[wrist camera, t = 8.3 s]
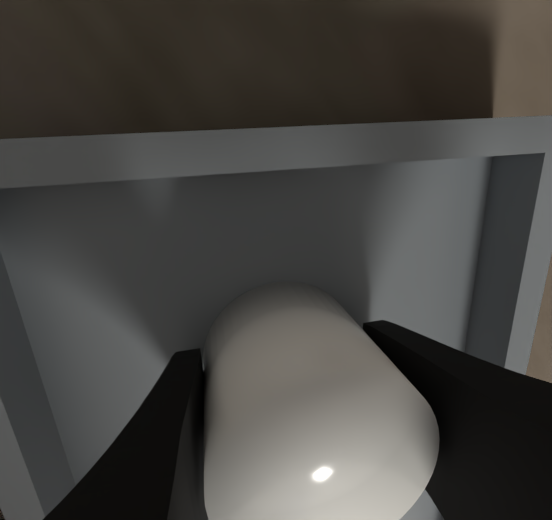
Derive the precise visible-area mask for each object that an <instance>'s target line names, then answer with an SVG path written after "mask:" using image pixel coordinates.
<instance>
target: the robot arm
mask: <svg viewBox="0 0 552 520" xmlns="http://www.w3.org/2000/svg"><path fill="white" fill-rule="evenodd" d="M363 330H364V332H365V333H366V334H367V335H368V336H369V337H370V338H371V339H372V340H373V341H374V343H375V344H376V345H377V346H378V347H379V348H380V349H381V350H382V351H383V353H384V354H385V355H386V356H387V357H388V358H389V359H390V360H391V361H392V363H393V364H394V365H395V366H396V367H397V368H398V369H399V370H400V371H401V373H402V374H403V375H404V376H405V377H406V378H407V379H408V380H409V381H410V383H411V384H412V385H413V386H414V387H415V388H416V389H417V390H418V391H419V393H420V394H421V395H422V396H423V397H424V398H425V400H426V401H427V402H428V404H429V405H430V406H431V409H432V411H433V413H434V415H435V417H436V420H437V424H438V428H439V438H440V441H439V453H438V458H437V462H436V465H435V468H434V471H433V474H432V476H431V478H430V480H429V482H428V484H427V486H426V488H425V490H426V491H427V493H428V494H429V496H430V497H431V499H432V501H433V502H434V504H435V505H436V507H437V509H438V510H439V512H440V513H441V515H442V517H443V518H444V520H552V383H549V382H546V381H542V380H539V379H536V378H533V377H529V376H526V375H523V374H520V373H518V372H515V371H512V370H509V369H506V368H503V367H501V366H498V365H495V364H493V363H490V362H487V361H485V360H482V359H479V358H477V357H474V356H472V355H469V354H467V353H464V352H462V351H459V350H457V349H454V348H452V347H450V346H447V345H445V344H442V343H440V342H438V341H435V340H433V339H431V338H428V337H426V336H424V335H421V334H419V333H417V332H414V331H412V330H409V329H407V328H405V327H402V326H400V325H397V324H394V323H392V322H389V321H386V320H379V321H372V322H366V323H363ZM203 400H204V387H203V365H202V357H201V350H200V348H198V349H191V350H185V351H178V352H175V353H174V355H173V356H172V357H171V359H170V360H169V362H168V364H167V366H166V367H165V369H164V371H163V372H162V374H161V375H160V377H159V379H158V380H157V382H156V383H155V385H154V386H153V388H152V389H151V391H150V392H149V394H148V395H147V397H146V398H145V400H144V401H143V403H142V404H141V405H140V407H139V408H138V410H137V411H136V413H135V414H134V415H133V417H132V418H131V419H130V421H129V422H128V423H127V424H126V426H125V427H124V428H123V430H122V431H121V432H120V434H119V435H118V436H117V437H116V439H115V440H114V441H113V443H112V444H111V445H110V446H109V448H108V449H107V450H106V451H105V452H104V454H103V455H102V456H101V457H100V458H99V460H98V461H97V462H96V463H95V464H94V465H93V467H92V468H91V469H90V470H89V471H88V472H87V473H86V475H85V476H84V477H83V478H82V479H81V480H80V481H79V482H78V483H77V485H76V486H75V487H74V488H73V489H72V490H71V491H70V492H69V493H68V494H67V495H66V497H65V498H64V499H63V500H62V501H61V502H60V503H59V504H58V505H57V506H56V507H55V508H54V509H53V510H52V511H51V512H50V513H49V514H48V515H47V516H46V517H45V518H44V519H43V520H208V516H207V512H206V508H205V500H204V410H203Z"/></svg>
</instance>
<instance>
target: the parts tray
mask: <svg viewBox="0 0 552 520" xmlns="http://www.w3.org/2000/svg"><path fill="white" fill-rule="evenodd" d="M551 254H552V115H551V116H527V117H504V118H480V119H457V120H434V121H410V122H387V123H363V124H340V125H317V126H293V127H270V128H246V129H223V130H199V131H176V132H153V133H129V134H106V135H82V136H59V137H36V138H12V139H0V509H1V511H2V513H3V516H4V518H5V520H43V519H44V518H45V517H46V516H47V515H48V514H49V513H50V512H51V511H52V510H53V509H54V508H55V507H56V506H57V505H58V504H59V503H60V502H61V501H62V500H63V499H64V498H65V497H66V495H67V494H68V493H69V492H70V491H71V490H72V489H73V488H74V487H75V486H76V485H77V483H78V482H79V481H80V480H81V479H82V478H83V477H84V476H85V475H86V473H87V472H88V471H89V470H90V469H91V468H92V467H93V465H94V464H95V463H96V462H97V461H98V460H99V458H100V457H101V456H102V455H103V454H104V452H105V451H106V450H107V449H108V448H109V446H110V445H111V444H112V443H113V441H114V440H115V439H116V437H117V436H118V435H119V434H120V432H121V431H122V430H123V428H124V427H125V426H126V424H127V423H128V422H129V421H130V419H131V418H132V417H133V415H134V414H135V413H136V411H137V410H138V408H139V407H140V405H141V404H142V403H143V401H144V400H145V398H146V397H147V395H148V394H149V392H150V391H151V389H152V388H153V386H154V385H155V383H156V382H157V380H158V379H159V377H160V375H161V374H162V372H163V371H164V369H165V367H166V366H167V364H168V362H169V360H170V359H171V357H172V356H173V355H174V353H175V352H178V351H185V350H191V349H198V348H200V350H201V357H202V365H203V353H204V345H205V341H206V337H207V335H208V333H209V330H210V328H211V326H212V324H213V323H214V321H215V319H216V318H217V317H218V316H219V314H220V313H221V312H222V311H223V310H224V309H225V308H226V307H227V306H228V305H229V304H230V303H231V302H232V301H234V300H235V299H236V298H237V297H239V296H241V295H242V294H244V293H246V292H247V291H250V290H252V289H254V288H256V287H259V286H262V285H266V284H270V283H275V282H287V281H288V282H300V283H305V284H309V285H312V286H315V287H317V288H319V289H321V290H323V291H325V292H326V293H328V294H329V295H331V296H332V297H333V298H334V299H335V300H336V301H337V302H338V303H339V304H340V305H341V306H342V307H343V308H344V309H345V310H346V312H347V313H348V314H349V315H350V316H351V317H352V318H353V319H354V320H355V322H356V323H357V324H358V325H359V326H360V327H361V328H362V329H363V323H366V322H372V321H379V320H386V321H389V322H392V323H394V324H397V325H400V326H402V327H405V328H407V329H409V330H412V331H414V332H417V333H419V334H421V335H424V336H426V337H428V338H431V339H433V340H435V341H438V342H440V343H442V344H445V345H447V346H450V347H452V348H454V349H457V350H459V351H462V352H464V353H467V354H469V355H472V356H474V357H477V358H479V359H482V360H485V361H487V362H490V363H493V364H495V365H498V366H501V367H503V368H506V369H509V370H512V371H515V372H518V373H520V374H523V375H526V370H527V366H528V361H529V356H530V352H531V347H532V342H533V338H534V333H535V328H536V324H537V319H538V314H539V310H540V305H541V300H542V296H543V291H544V286H545V282H546V277H547V272H548V268H549V263H550V259H551ZM208 520H209V519H208ZM399 520H444V518H443V517H442V515H441V513H440V512H439V510H438V509H437V507H436V505H435V504H434V502H433V501H432V499H431V497H430V496H429V494H428V493H427V491H426V490H425V489H424V491H423V492H422V494H421V496H420V497H419V498H418V500H417V501H416V502H415V503H414V505H413V506H412V507H411V508H410V509H409V510H408V511H407V512H406V514H405V515H404V516H403V517H402V518H401V519H399Z"/></svg>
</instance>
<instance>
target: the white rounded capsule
mask: <svg viewBox="0 0 552 520" xmlns="http://www.w3.org/2000/svg"><path fill="white" fill-rule="evenodd" d="M203 387H204V400H203V410H204V500H205V508H206V512H207V516H208V519H209V520H399V519H401V518H402V517H403V516H404V515H405V514H406V512H407V511H408V510H409V509H410V508H411V507H412V506H413V505H414V503H415V502H416V501H417V500H418V498H419V497H420V496H421V494H422V492H423V491H424V489H425V488H426V486H427V484H428V482H429V480H430V478H431V476H432V474H433V471H434V468H435V465H436V462H437V458H438V453H439V441H440V438H439V428H438V424H437V420H436V417H435V415H434V413H433V411H432V409H431V406H430V405H429V404H428V402H427V401H426V400H425V398H424V397H423V396H422V395H421V394H420V393H419V391H418V390H417V389H416V388H415V387H414V386H413V385H412V384H411V383H410V381H409V380H408V379H407V378H406V377H405V376H404V375H403V374H402V373H401V371H400V370H399V369H398V368H397V367H396V366H395V365H394V364H393V363H392V361H391V360H390V359H389V358H388V357H387V356H386V355H385V354H384V353H383V351H382V350H381V349H380V348H379V347H378V346H377V345H376V344H375V343H374V341H373V340H372V339H371V338H370V337H369V336H368V335H367V334H366V333H365V332H364V330H363V329H362V328H361V327H360V326H359V325H358V324H357V323H356V322H355V320H354V319H353V318H352V317H351V316H350V315H349V314H348V313H347V312H346V310H345V309H344V308H343V307H342V306H341V305H340V304H339V303H338V302H337V301H336V300H335V299H334V298H333V297H332V296H331V295H329V294H328V293H326V292H325V291H323V290H321V289H319V288H317V287H315V286H312V285H309V284H305V283H300V282H288V281H287V282H275V283H270V284H266V285H262V286H259V287H256V288H254V289H252V290H250V291H247V292H246V293H244V294H242V295H241V296H239V297H237V298H236V299H235V300H234V301H232V302H231V303H230V304H229V305H228V306H227V307H226V308H225V309H224V310H223V311H222V312H221V313H220V314H219V316H218V317H217V318H216V319H215V321H214V323H213V324H212V326H211V328H210V330H209V333H208V335H207V337H206V341H205V345H204V353H203Z"/></svg>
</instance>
